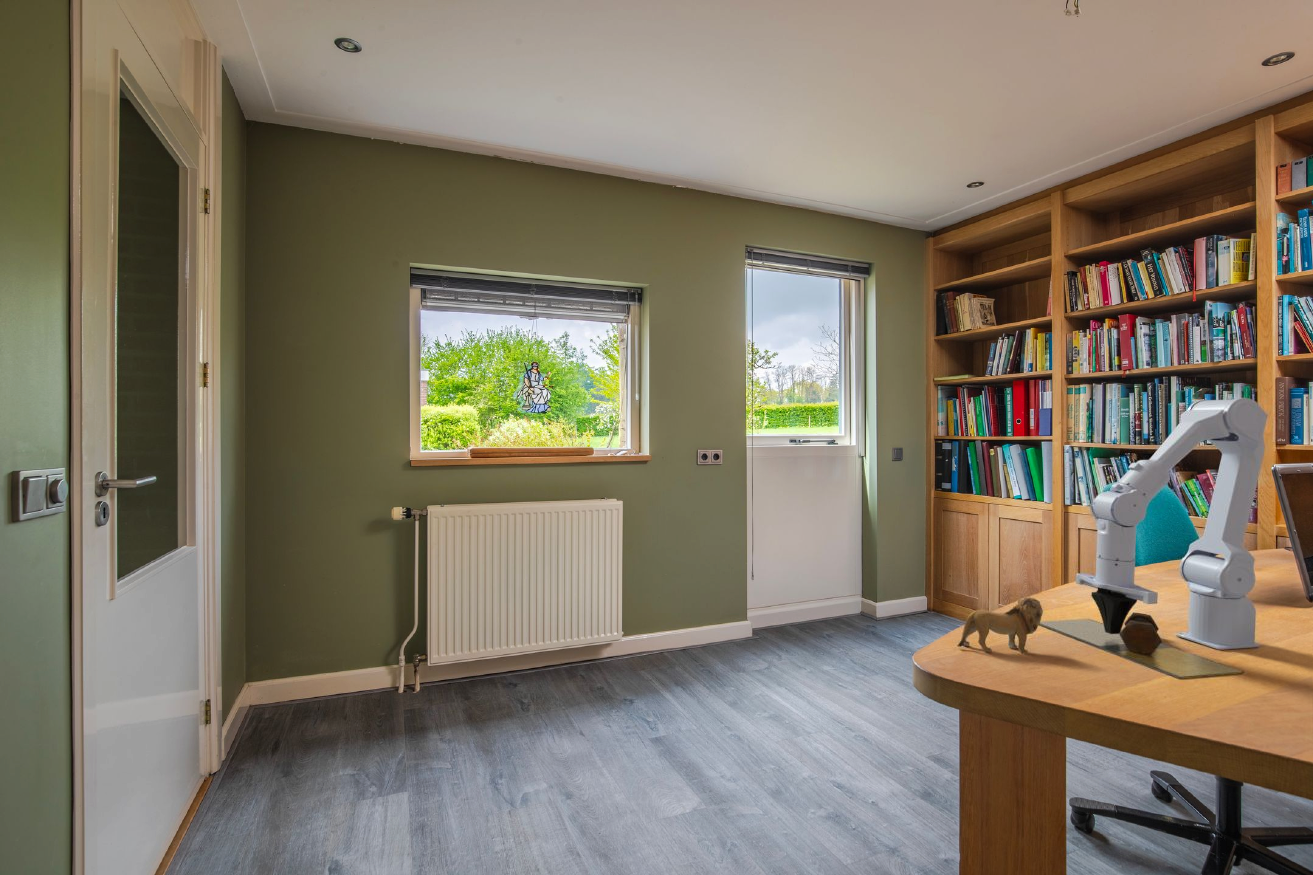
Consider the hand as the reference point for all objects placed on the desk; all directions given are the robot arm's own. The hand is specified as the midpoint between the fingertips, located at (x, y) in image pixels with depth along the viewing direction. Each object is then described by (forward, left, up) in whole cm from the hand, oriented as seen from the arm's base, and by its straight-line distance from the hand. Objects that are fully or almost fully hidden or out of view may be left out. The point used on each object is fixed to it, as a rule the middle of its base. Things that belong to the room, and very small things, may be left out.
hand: (1112, 632), depth 118 cm
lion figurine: (+24, 0, -2) cm, 24 cm away
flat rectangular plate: (0, +3, -1) cm, 3 cm away
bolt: (-3, +3, -1) cm, 4 cm away
